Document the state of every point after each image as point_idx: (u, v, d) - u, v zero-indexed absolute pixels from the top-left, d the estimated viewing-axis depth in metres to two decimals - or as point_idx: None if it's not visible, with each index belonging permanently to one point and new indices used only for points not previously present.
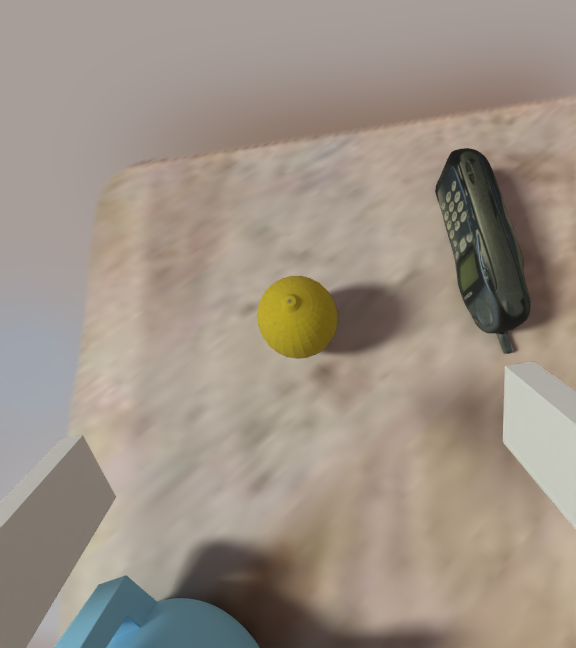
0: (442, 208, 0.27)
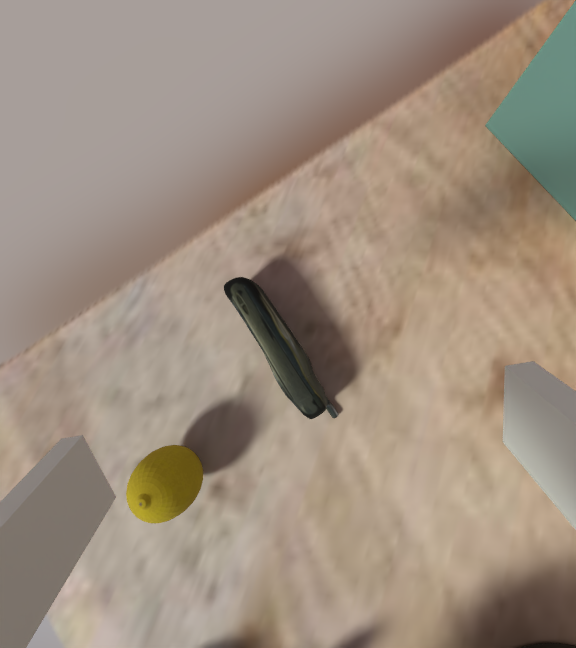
0: None
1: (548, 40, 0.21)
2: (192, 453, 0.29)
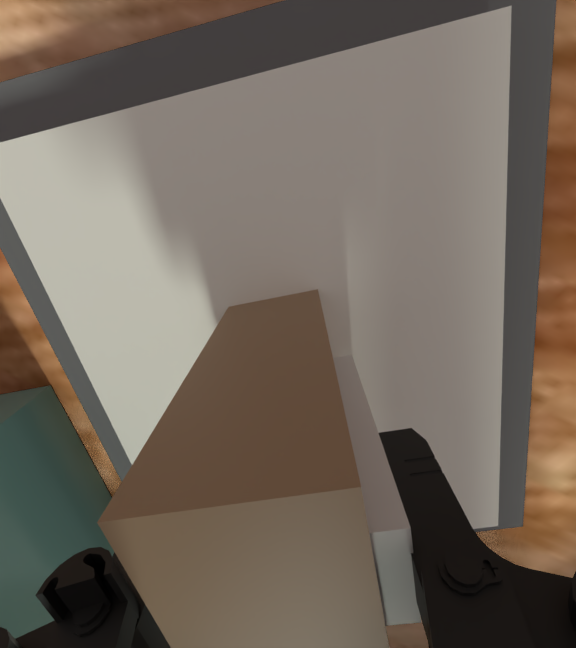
0: None
1: None
2: None
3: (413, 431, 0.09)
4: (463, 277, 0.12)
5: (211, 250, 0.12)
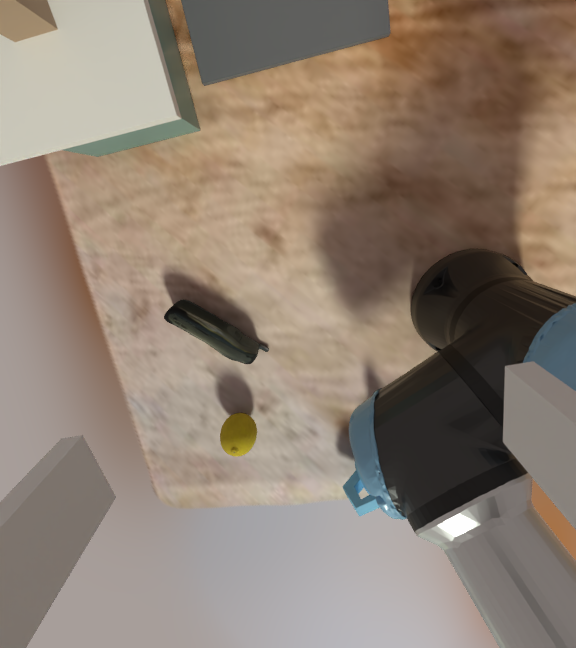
0: None
1: None
2: (232, 415, 0.51)
3: None
4: None
5: None
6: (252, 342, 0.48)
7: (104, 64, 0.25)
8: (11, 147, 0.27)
